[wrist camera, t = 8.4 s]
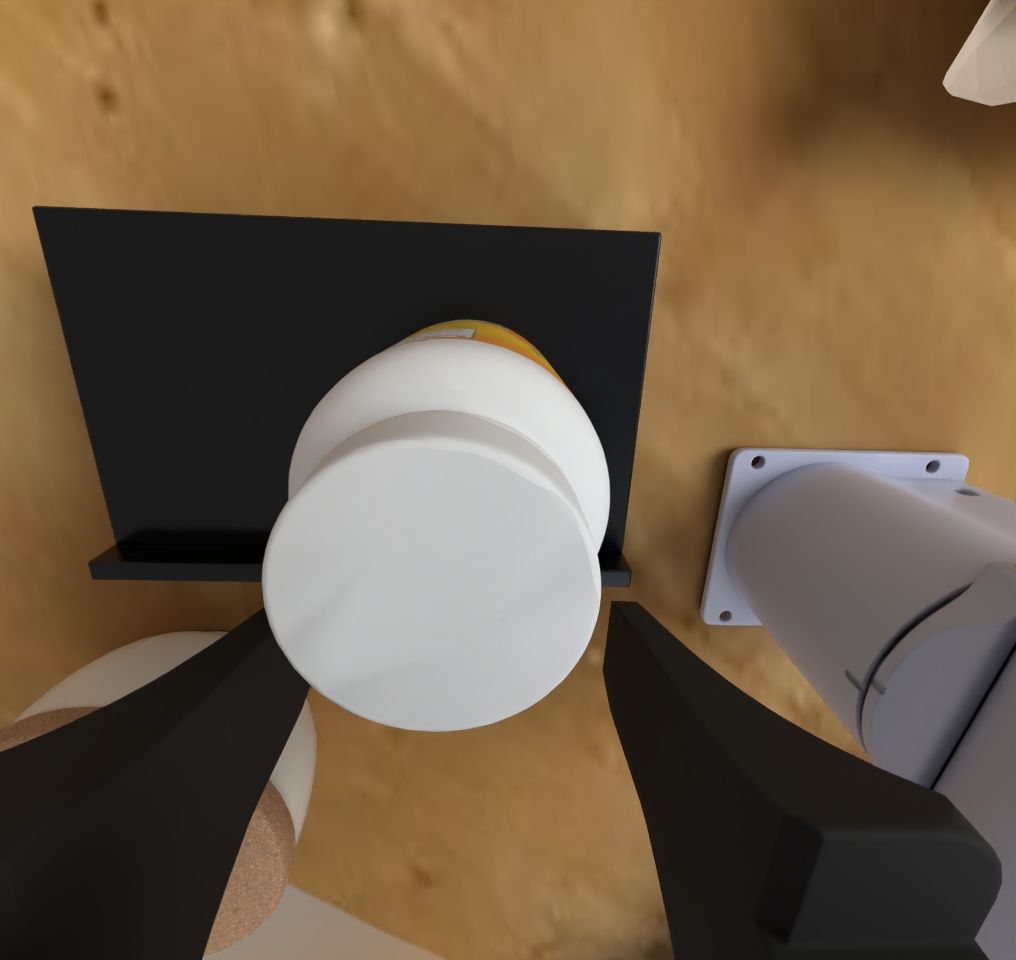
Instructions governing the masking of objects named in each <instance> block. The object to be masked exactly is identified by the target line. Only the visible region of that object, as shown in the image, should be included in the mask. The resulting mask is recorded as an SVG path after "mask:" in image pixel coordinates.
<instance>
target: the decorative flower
mask: <svg viewBox="0 0 1016 960" xmlns="http://www.w3.org/2000/svg"><path fill="white" fill-rule="evenodd" d="M942 84H943V85H944V87H945V88H946V90H947V91H948V92H949V93H950V94H951V95H952V96H956V97H959V98H963V99H967V100H971V101H974V102H978V103H982V104H985V105H989V106H996V105H1001V104H1006V103H1012V102H1016V0H991V1H990V3H989V4H988V6H987V7H986V9H985V11H984V12H983V14H982V15H981V17H980V19H979V20H978V22H977V24H976V25H975V27H974V29H973V30H972V32H971V34H970V35H969V37H968V39H967V40H966V42H965V44H964V45H963V47H962V49H961V50H960V52H959V54H958V55H957V57H956V58H955V60H954V62H953V63H952V65H951V67H950V68H949V70H948V71H947V73H946V76H945V78H944V81H943V83H942Z"/></svg>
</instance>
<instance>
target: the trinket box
mask: <svg viewBox="0 0 1016 960" xmlns="http://www.w3.org/2000/svg"><path fill="white" fill-rule="evenodd" d="M227 633H228V632H220V631H213V632H200V631H184V632H173V633H167V634H162V635H157V636H152V637H147V638H144V639H141V640H138V641H136V642H133V643H130V644H128V645H125V646H123V647H120V648H117V649H115V650H112V651H110V652H108V653H107V654H105V655H103V656H101V657H100V658H98V659H96V660H94V661H93V662H91V663H89V664H88V665H86V666H84V667H82V668H81V669H79V670H77V671H76V672H74V673H72V674H71V675H70V676H68V677H67V678H65V679H64V680H62V681H61V682H60V683H58V684H57V685H55V686H54V687H53V688H51V689H50V690H48V691H47V692H46V693H45V694H44V695H42V696H41V697H40V698H39V699H38V700H37V701H35V702H34V703H33V704H32V705H31V706H29V707H28V708H27V709H26V710H25V711H24V712H22V713H21V714H20V715H19V716H18V717H17V718H16V719H14V720H13V721H12V722H11V723H10V724H9V725H8V726H7V727H5V728H3V729H1V730H0V752H1V751H4V750H6V749H9V748H11V747H14V746H17V745H19V744H21V743H24V742H26V741H29V740H31V739H34V738H36V737H38V736H41V735H43V734H46V733H48V732H50V731H53V730H55V729H57V728H59V727H61V726H63V725H66V724H68V723H70V722H72V721H74V720H76V719H78V718H81V717H83V716H85V715H87V714H89V713H91V712H93V711H96V710H98V709H100V708H102V707H104V706H106V705H108V704H110V703H112V702H114V701H116V700H118V699H120V698H122V697H124V696H126V695H128V694H129V693H131V692H133V691H135V690H137V689H139V688H141V687H142V686H144V685H146V684H148V683H150V682H151V681H153V680H155V679H157V678H158V677H160V676H162V675H163V674H165V673H167V672H169V671H170V670H172V669H173V668H175V667H177V666H178V665H180V664H181V663H183V662H184V661H186V660H188V659H189V658H191V657H192V656H194V655H195V654H197V653H199V652H200V651H202V650H203V649H205V648H206V647H208V646H210V645H211V644H213V643H214V642H215V641H217V640H218V639H220V638H221V637H223V636H224V635H226V634H227ZM316 758H317V739H316V729H315V722H314V718H313V714H312V710H311V707H310V705H309V702H308V700H307V697H306V700H305V703H304V706H303V709H302V711H301V713H300V715H299V717H298V720H297V722H296V724H295V726H294V728H293V730H292V732H291V735H290V737H289V739H288V741H287V743H286V745H285V747H284V749H283V751H282V754H281V756H280V758H279V760H278V762H277V764H276V766H275V768H274V770H273V772H272V774H271V777H270V779H269V781H268V783H267V785H266V787H265V789H264V791H263V793H262V795H261V798H260V800H259V802H258V804H257V807H256V809H255V811H254V813H253V816H252V818H251V820H250V823H249V825H248V828H247V831H246V834H245V836H244V839H243V842H242V845H241V847H240V850H239V853H238V856H237V858H236V861H235V864H234V867H233V869H232V872H231V875H230V878H229V881H228V884H227V887H226V889H225V892H224V895H223V898H222V901H221V904H220V907H219V910H218V913H217V916H216V919H215V922H214V924H213V927H212V930H211V933H210V937H209V940H208V943H207V946H206V949H205V952H204V955H203V956H205V955H209V954H212V953H216V952H218V951H220V950H222V949H225V948H227V947H229V946H231V945H233V944H235V943H237V942H238V941H240V940H242V939H243V938H245V937H247V936H248V935H250V934H251V933H252V932H253V931H254V930H256V928H258V927H259V926H260V925H261V924H262V923H263V922H264V921H265V920H266V919H267V918H268V917H269V916H270V915H271V913H272V912H273V911H274V909H275V908H276V907H277V905H278V904H279V901H280V899H281V897H282V894H283V892H284V890H285V887H286V885H287V882H288V879H289V876H290V873H291V870H292V866H293V861H294V856H295V850H296V845H297V842H298V839H299V837H300V834H301V831H302V827H303V824H304V821H305V817H306V814H307V811H308V806H309V802H310V797H311V792H312V787H313V782H314V776H315V769H316Z"/></svg>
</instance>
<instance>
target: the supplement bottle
mask: <svg viewBox="0 0 1016 960" xmlns="http://www.w3.org/2000/svg"><path fill="white" fill-rule="evenodd" d="M288 499H289V500H288V502H287V503H286V505H285V506H284V508H283V510H282V511H281V513H280V515H279V516H278V518H277V521H276V523H275V525H274V527H273V529H272V531H271V534H270V537H269V540H268V543H267V546H266V550H265V556H264V561H263V567H262V590H263V600H264V607H265V610H266V614H267V618H268V621H269V625H270V627H271V630H272V632H273V634H274V637H275V639H276V641H277V643H278V645H279V646H280V648H281V650H282V651H283V653H284V654H285V656H286V657H287V659H288V660H289V662H290V663H291V665H292V666H293V668H294V669H295V670H296V671H297V672H298V673H299V674H300V675H301V676H302V677H303V678H304V679H305V680H306V681H307V682H308V683H309V684H310V685H311V686H312V687H313V688H314V689H316V690H317V691H318V692H319V693H321V694H322V695H323V696H325V697H326V698H327V699H329V700H330V701H332V702H333V703H335V704H337V705H339V706H340V707H342V708H344V709H346V710H348V711H349V712H351V713H354V714H356V715H358V716H360V717H363V718H365V719H368V720H371V721H374V722H377V723H380V724H383V725H387V726H391V727H396V728H400V729H405V730H417V731H429V732H443V731H456V730H464V729H470V728H475V727H480V726H484V725H488V724H492V723H495V722H498V721H500V720H503V719H505V718H508V717H510V716H513V715H515V714H517V713H519V712H521V711H523V710H525V709H527V708H529V707H530V706H532V705H533V704H535V703H536V702H538V701H540V700H541V699H542V698H544V697H545V696H546V695H548V694H549V693H550V692H551V691H552V690H553V689H554V688H555V687H556V686H557V685H558V684H560V683H561V682H562V681H563V680H564V679H565V678H566V676H567V675H568V674H569V673H570V672H571V670H572V669H573V668H574V666H575V665H576V664H577V662H578V661H579V659H580V657H581V656H582V654H583V653H584V651H585V649H586V647H587V645H588V643H589V641H590V639H591V636H592V633H593V630H594V627H595V624H596V621H597V618H598V613H599V608H600V599H601V574H600V566H599V560H598V556H597V554H598V552H599V550H600V547H601V544H602V541H603V538H604V535H605V531H606V527H607V523H608V516H609V508H610V485H609V475H608V468H607V463H606V459H605V455H604V451H603V448H602V446H601V443H600V440H599V438H598V436H597V434H596V432H595V429H594V427H593V425H592V423H591V421H590V420H589V418H588V416H587V414H586V413H585V411H584V409H583V408H582V406H581V405H580V403H579V402H578V401H577V399H576V398H575V397H574V395H573V394H572V393H571V391H570V390H569V389H568V388H567V386H566V385H565V384H564V382H563V381H562V380H561V378H560V377H559V376H558V374H557V373H556V372H555V371H554V369H553V368H552V367H551V365H550V364H549V363H548V361H547V360H546V359H545V358H544V357H543V355H542V354H541V353H540V352H539V351H538V350H537V349H536V348H535V347H534V346H533V345H532V344H530V343H529V342H528V341H527V340H525V339H524V338H523V337H521V336H520V335H518V334H516V333H515V332H513V331H511V330H509V329H507V328H505V327H502V326H500V325H497V324H493V323H490V322H486V321H479V320H455V321H448V322H443V323H439V324H436V325H432V326H429V327H427V328H424V329H422V330H420V331H418V332H416V333H414V334H412V335H411V336H409V337H407V338H406V339H404V340H402V341H400V342H399V343H397V344H395V345H393V346H391V347H390V348H388V349H386V350H385V351H383V352H381V353H379V354H377V355H375V356H373V357H372V358H370V359H368V360H367V361H365V362H364V363H362V364H361V365H359V366H358V367H356V368H355V369H353V370H352V371H351V372H350V373H348V374H347V375H346V376H345V377H344V378H342V379H341V380H340V381H339V382H338V383H337V384H336V385H335V386H334V387H333V388H332V389H331V390H330V391H329V392H328V393H327V394H326V395H325V396H324V398H323V399H322V400H321V401H320V402H319V404H318V405H317V406H316V407H315V408H314V410H313V412H312V413H311V415H310V417H309V418H308V420H307V421H306V423H305V425H304V427H303V429H302V431H301V433H300V436H299V438H298V441H297V444H296V447H295V450H294V453H293V456H292V461H291V466H290V471H289V491H288Z"/></svg>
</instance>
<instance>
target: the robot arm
mask: <svg viewBox="0 0 1016 960" xmlns="http://www.w3.org/2000/svg"><path fill="white" fill-rule="evenodd" d="M757 456H760V460H759V462H758V463H757V464H756V465H754V466H751V462H752V460H753V459H754V458H755V457H757ZM929 462H931V465H930V467H929V468H927V469H926V466H927V464H928V463H929ZM968 467H969V460H968V458H967V457H966V456H964V455H961V454H958V453H951V452H911V451H871V450H832V449H792V448H752V447H742V448H738V449H736V450H734V451H733V453H732V454H731V455H730V457H729V461H728V466H727V471H726V477H725V482H724V487H723V492H722V498H721V503H720V508H719V513H718V519H717V524H716V529H715V534H714V540H713V545H712V550H711V555H710V561H709V566H708V571H707V576H706V582H705V587H704V592H703V597H702V603H701V608H700V616H701V617H702V619H703V621H704V622H705V623H706V624H709V625H751V626H764V628H765V629H766V630H767V631H768V633H769V634H770V635H771V636H772V638H773V639H774V640H775V641H776V642H777V644H778V645H779V646H780V647H781V649H782V650H783V651H784V652H785V654H786V655H787V656H788V657H789V659H790V660H791V661H792V662H793V664H794V665H795V666H796V667H797V668H798V670H799V671H800V672H801V673H802V675H803V676H804V677H805V678H806V680H807V681H808V682H809V683H810V685H811V686H812V687H813V688H814V690H815V691H816V692H817V693H818V694H819V696H820V697H821V698H822V699H823V701H824V702H825V703H826V704H827V706H828V707H829V708H830V709H831V711H832V712H833V713H834V714H835V716H836V717H837V718H838V719H839V721H840V722H841V723H842V724H843V725H844V727H845V728H846V729H847V730H848V732H849V733H850V734H851V735H852V737H853V738H854V739H855V740H856V742H857V743H858V744H859V745H860V747H861V748H862V749H863V750H864V751H865V753H866V754H867V755H868V756H869V758H870V759H871V761H872V764H870V763H868V762H866V761H864V760H862V759H860V758H858V757H856V756H853V755H851V754H849V753H847V752H845V751H843V750H841V749H839V748H837V747H835V746H833V745H831V744H829V743H828V742H826V741H824V740H822V739H820V738H818V737H816V736H814V735H812V734H811V733H809V732H807V731H805V730H804V729H802V728H800V727H799V726H797V725H795V724H793V723H792V722H790V721H788V720H786V719H785V718H783V717H781V716H780V715H778V714H776V713H775V712H773V711H772V710H770V709H768V708H767V707H765V706H764V705H762V704H761V703H759V702H758V701H756V700H755V699H753V698H752V697H750V696H749V695H747V694H746V693H744V692H743V691H742V690H740V689H739V688H737V687H736V686H735V685H733V684H732V683H730V682H729V681H728V680H726V679H725V678H724V677H723V676H721V675H720V674H719V673H717V672H716V671H715V670H714V669H712V668H711V667H710V666H709V665H707V664H706V663H705V662H704V661H702V660H701V659H700V658H699V657H698V656H696V655H695V654H694V653H693V652H692V651H691V650H689V649H688V648H687V647H686V646H685V645H684V644H683V643H681V642H680V641H679V640H678V639H677V638H676V637H675V636H674V635H672V634H671V633H670V632H669V631H668V630H667V629H666V628H665V627H664V626H663V625H662V624H661V623H659V622H658V621H657V620H656V619H655V618H654V617H653V616H652V615H651V614H650V613H649V612H648V611H647V610H645V609H644V608H643V607H642V606H641V605H640V604H639V603H637V602H627V601H611V609H610V616H609V624H608V632H607V640H606V648H605V656H604V664H603V675H604V680H605V686H606V691H607V696H608V701H609V706H610V711H611V714H612V717H613V720H614V723H615V727H616V730H617V733H618V736H619V739H620V742H621V745H622V748H623V751H624V754H625V757H626V760H627V763H628V766H629V769H630V772H631V775H632V778H633V781H634V784H635V788H636V791H637V794H638V797H639V800H640V803H641V806H642V810H643V814H644V817H645V821H646V824H647V829H648V833H649V838H650V842H651V846H652V851H653V855H654V860H655V864H656V869H657V873H658V878H659V883H660V887H661V892H662V897H663V902H664V906H665V911H666V916H667V921H668V926H669V931H670V936H671V941H672V946H673V952H674V957H675V960H1016V503H1015V502H1012V501H1010V500H1007V499H1005V498H1002V497H1000V496H997V495H995V494H993V493H990V492H988V491H985V490H983V489H980V488H978V487H975V486H973V485H971V484H968V483H966V482H963V481H964V478H965V476H966V473H967V470H968ZM724 611H728V612H727V613H726V614H725V615H723V616H720V614H721V613H722V612H724ZM309 688H310V684H309V683H308V682H307V681H306V680H305V679H304V678H303V677H302V676H301V675H300V674H299V673H298V672H297V671H296V670H295V669H294V668H293V666H292V665H291V663H290V662H289V660H288V659H287V657H286V656H285V654H284V653H283V651H282V650H281V648H280V646H279V645H278V643H277V641H276V639H275V637H274V634H273V632H272V630H271V627H270V625H269V621H268V618H267V614H266V610H265V607H264V608H263V609H261V610H260V611H258V612H257V613H256V614H254V615H253V616H251V617H250V618H249V619H247V620H246V621H244V622H243V623H241V624H240V625H239V626H237V627H236V628H234V629H233V630H231V631H230V632H228V633H227V634H226V635H224V636H223V637H221V638H220V639H218V640H217V641H215V642H214V643H213V644H211V645H210V646H208V647H206V648H205V649H203V650H202V651H200V652H199V653H197V654H195V655H194V656H192V657H191V658H189V659H188V660H186V661H184V662H183V663H181V664H180V665H178V666H177V667H175V668H173V669H172V670H170V671H169V672H167V673H165V674H163V675H162V676H160V677H158V678H157V679H155V680H153V681H151V682H150V683H148V684H146V685H144V686H142V687H141V688H139V689H137V690H135V691H133V692H131V693H129V694H128V695H126V696H124V697H122V698H120V699H118V700H116V701H114V702H112V703H110V704H108V705H106V706H104V707H102V708H100V709H98V710H96V711H93V712H91V713H89V714H87V715H85V716H83V717H81V718H78V719H76V720H74V721H72V722H70V723H68V724H66V725H63V726H61V727H59V728H57V729H55V730H53V731H50V732H48V733H46V734H43V735H41V736H38V737H36V738H34V739H31V740H29V741H26V742H24V743H21V744H19V745H17V746H14V747H11V748H9V749H6V750H4V751H1V752H0V960H202V958H203V955H204V952H205V949H206V946H207V943H208V940H209V937H210V933H211V930H212V927H213V924H214V922H215V919H216V916H217V913H218V910H219V907H220V904H221V901H222V898H223V895H224V892H225V889H226V887H227V884H228V881H229V878H230V875H231V872H232V869H233V867H234V864H235V861H236V858H237V856H238V853H239V850H240V847H241V845H242V842H243V839H244V836H245V834H246V831H247V828H248V825H249V823H250V820H251V818H252V816H253V813H254V811H255V809H256V807H257V804H258V802H259V800H260V798H261V795H262V793H263V791H264V789H265V787H266V785H267V783H268V781H269V779H270V777H271V774H272V772H273V770H274V768H275V766H276V764H277V762H278V760H279V758H280V756H281V754H282V751H283V749H284V747H285V745H286V743H287V741H288V739H289V737H290V735H291V732H292V730H293V728H294V726H295V724H296V722H297V720H298V717H299V715H300V713H301V711H302V709H303V706H304V703H305V700H306V697H307V694H308V691H309Z"/></svg>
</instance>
